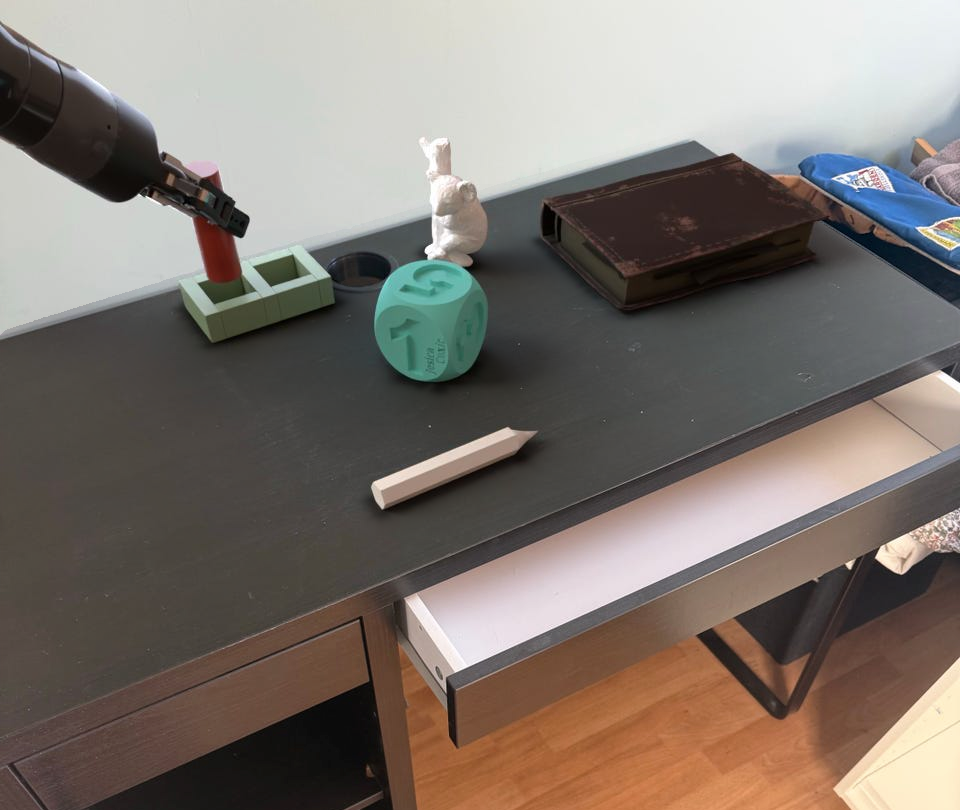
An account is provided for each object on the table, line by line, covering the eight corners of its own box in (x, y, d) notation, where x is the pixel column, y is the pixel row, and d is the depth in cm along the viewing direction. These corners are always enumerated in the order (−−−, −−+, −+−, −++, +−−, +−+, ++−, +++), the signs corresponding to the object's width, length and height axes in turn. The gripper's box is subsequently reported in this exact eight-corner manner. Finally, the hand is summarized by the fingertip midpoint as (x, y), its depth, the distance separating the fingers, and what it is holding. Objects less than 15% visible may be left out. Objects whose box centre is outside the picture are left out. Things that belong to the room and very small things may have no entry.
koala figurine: (405, 252, 100) (397, 138, 90) (457, 236, 102) (454, 122, 93) (444, 287, 95) (440, 171, 86) (498, 269, 98) (499, 154, 88)
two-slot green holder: (212, 343, 89) (204, 316, 87) (185, 307, 93) (177, 280, 91) (335, 303, 94) (331, 276, 91) (304, 270, 98) (300, 244, 95)
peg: (199, 278, 88) (171, 174, 80) (219, 261, 90) (194, 157, 82) (229, 286, 87) (204, 181, 80) (249, 268, 89) (226, 164, 82)
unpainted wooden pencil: (538, 446, 81) (381, 512, 75) (527, 425, 81) (369, 490, 75) (548, 434, 78) (386, 501, 73) (537, 412, 78) (374, 478, 73)
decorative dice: (377, 369, 86) (369, 293, 80) (417, 327, 91) (412, 251, 85) (451, 392, 84) (449, 315, 78) (488, 347, 89) (489, 270, 82)
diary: (537, 237, 102) (539, 192, 98) (720, 190, 108) (729, 146, 104) (624, 321, 91) (631, 275, 87) (821, 263, 98) (835, 218, 94)
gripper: (157, 104, 67) (297, 203, 83) (40, 62, 73) (192, 163, 88) (123, 203, 69) (267, 282, 84) (11, 154, 74) (166, 237, 90)
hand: (228, 221), depth 86 cm, fingers closed on peg, 3 cm apart
